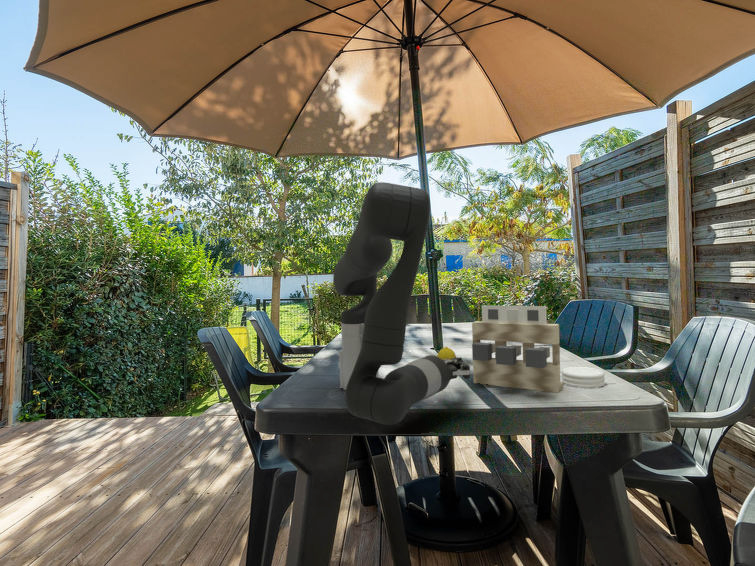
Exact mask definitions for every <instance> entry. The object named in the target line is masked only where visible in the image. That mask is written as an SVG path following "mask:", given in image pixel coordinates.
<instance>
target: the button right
mask: <svg viewBox="0 0 755 566" xmlns="http://www.w3.org/2000/svg"><path fill="white" fill-rule="evenodd" d="M550 357H551V348H550V346H549V347H548V346H539V347H534V348H530V347H529V348H527V349H525V359H526V367H535V368H545V367H546V366H547V362H548V361H547V359H548V358H550Z"/></svg>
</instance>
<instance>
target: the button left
mask: <svg viewBox="0 0 755 566" xmlns="http://www.w3.org/2000/svg"><path fill="white" fill-rule="evenodd" d="M471 350H472V351H471V352H472V355H471V357H472V361H473V360H480V361H489V360H491V359H492V358H493V354H495V341H492V342H491V341H490V342H481V343H479V342H476V343H474V344H473V343H472V344H471Z"/></svg>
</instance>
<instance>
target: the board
mask: <svg viewBox="0 0 755 566" xmlns="http://www.w3.org/2000/svg"><path fill="white" fill-rule="evenodd" d="M471 327H472V328H471V329H472V330H471V332H472V333H471V334H472V337H471V338H472V344H474V343H476V342H479V343H482V341H490V342H491V341H492V342H495V352H494V356H495V357H492V359H491V360H489V361H480V360H473V359H472V364H473V367H472V368H473V384H477V383H480V384H479V385H486V384H488V385H487V386H497V387H504V388H512V389H513V388H514V389H520V390H530V391H539V392H545V393H546V392H547V393H555V394H558V393H559V392H560V391H561V390H562V389H563V388H564V383H563V382H562V381H561V354H560V353H561V348H560V324H559V323H547V325H537V324H509V323H482V320H476V321H473V322H471ZM510 342H511V343H522V359H517V363H516V364H514V365H513V366H512V365H501V364H496V347H498V346H508V345H507V344H508V343H510ZM535 344H542V345H551V347H552V348H551V350H552V362H549V361H547V366H546V367H545V368H535V367H526V359H525V349H527V348H529V347H530V348H535Z"/></svg>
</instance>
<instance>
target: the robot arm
mask: <svg viewBox="0 0 755 566" xmlns="http://www.w3.org/2000/svg"><path fill="white" fill-rule="evenodd" d="M361 205H362V206H361V210H360V213H359V216H358V221H357V225H356V226H355V227H354V228H355V229H354V231H353V233H352V235H351V237H350V239H349V241H348V243H347V245H346V248H345V251H344V254H343V256H342V257H341V258H340V259H339V260H338V262H337V263H336V265H335V266H334V267H335V268H334V270H333V279H332V280H333V285H334V286H333V287H334V289H335V291H336V292H337V294H338V295H340V296H344V297H361V296H362V299H361V301H360V302H359V303H357V304H355V306H353V307H350V308H348V309H345V310H343V311H342V312H341V313H340V323H341V325H340V327H341V351H339V353H338V358H339V359H338V361H339V362H338V363H339V386H340V387H339V388H343V389H342V390H343V391H345V390H346V391H345V392H344V402H345V407H346V408H347V411H348V412H349V413H350V414H351V415H352V416H354V417H357V418H360V419H364V420H367V421H372V422H374V423H379V424H382V425H388V426H391V425H392V426H393V425H396V424H399V423H401V422H402V421H403V420H404V418H406V415H407V414H408V412H409V410H410V409H411V407H413V405H415V404H417V403H419V402H420V401H421V402H422V401H424V400H428V399H429V398H431V397H433V396H434V395H437V394H438V393H440V392H442V391H444V390H445V389H446V388H447V387H448V385H449V384H450V381H451V380H453V379H457V378H458V376H460V378H463V379H466V380H469V379H471V368H470V367H471V366H470V365H469V364H468V363H466V362H465V361H464V359H463V358H462V357H455V358H452V359H450V360H449V359H445V360H444V359H441V358H439V357H437V356H438V355H432V354H431V355H430V354H429V355H426V356H424V357H421V358H418V359H415V360H412V361H411V362H408V363H407V364H405V365H402V366H400V367H397V368H395V369H393V370H391V371H389V372H388V373H387V374H386V375H385V376H384V378H382V377H381V378H380V377H379V374H380V373H379V369H380V368H381V367H382V366H391V365H392V366H393V365H397V364H399V363H400V362H401V360H402V359H403V353H404V345H405V339H406V329H407V321H408V313H409V309H410V308H409V307H410V303H411V302H410V301H411V299H412V298H411V297H412V294H413V290H414V287H415V282H416V279H417V275H418V270H419V267H420V263H421V258H422V253H423V248H424V245H425V241H426V236H427V232H428V229H429V228H428V227H429V221H430V217H431V215H430V213H431V199H430V196H429V194H428V192H427V190H426V189H423V188H419V187H415V186H414V187H413V186H408V185H402V184H397V183H396V184H395V183H390V182H381V181H380V182H375V183H373V184H372V185H370V187H369V188H368V190H367V192H366V194H365V196H364V198H363V202H362V204H361ZM392 240H395V241H401V242H403V247H402V252H401V255H400V257H399V260H398V262H397V263H396V266H395V267H394V269H392V270H393V271H392V272H391V273H390V275H389V276H388V277H387V279H386V280H385V281H384V282H383V283H382V285H381V286H380V287H379V288H378V287H377V286H378V275H377V274H378V273H380V272H381V270H383V268H384V267H385V266H386V265H387V263H388V262H389V260H390V258H392V253H393V244H392V243H393V242H392Z"/></svg>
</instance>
